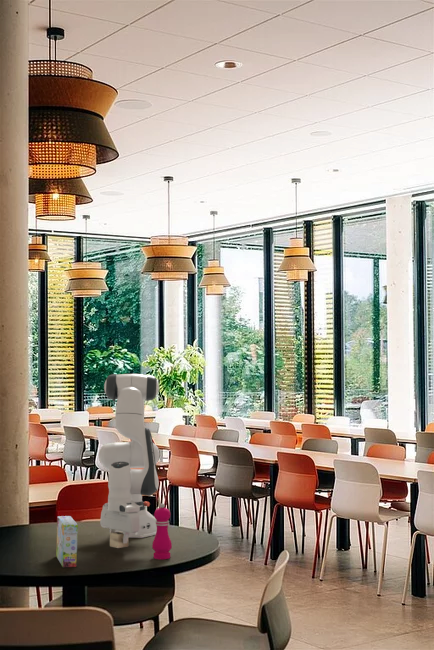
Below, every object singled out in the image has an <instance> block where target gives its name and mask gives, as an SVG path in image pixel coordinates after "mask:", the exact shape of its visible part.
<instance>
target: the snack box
mask: <svg viewBox="0 0 434 650" xmlns="http://www.w3.org/2000/svg"><path fill="white" fill-rule="evenodd" d="M78 531H79V524H78V523H77V522H76V521H75V520H74V519H73V517H72V516H71V515H65V516H64V515H61V516H60V515H59V516H57V519H56V550H55V551H56V553H55V554H56V555H55V556H56V558H57V560H58V561H59V563H60V565H61V567H62V568H76V567H77V561H78V560H77V559H78V557H77V555H78V536H79V533H78Z"/></svg>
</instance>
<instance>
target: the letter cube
mask: <svg viewBox="0 0 434 650" xmlns="http://www.w3.org/2000/svg"><path fill="white" fill-rule="evenodd" d="M123 536H124V534H123V532H113V533H110V532H109V547H111V548H117V549H120V548H121V549H122V548H126V547H129V539H128V540H127V543H125V544H124V543H122V542H121V541H122V540H121V538H123Z"/></svg>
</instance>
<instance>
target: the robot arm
mask: <svg viewBox="0 0 434 650" xmlns="http://www.w3.org/2000/svg"><path fill="white" fill-rule="evenodd" d="M103 387H104V388H103V389H104V393H105V395H106V397H107V398H108V399H110V400H112V401H113V402H115V401H117V402H116V405H115V417H114V420H115V421H114V422H115V429H116V431H117V432H118V433H119V434H120V435H121V436H123V437H125V438H127V439H129V440H131V441H129V442H128V441H126V442H125V441H122V442H121V441H120V442H117V441H116V442H109V443H105V444H103V445H102V446H101V447H100V449H99V450H98V451H99V452H98V460H99V462H100V464H101V466H102V467H104V468H105V469H106V470H107V471H108V479H107V482H108V483H107V484H108V485H107V487H108V496H107V502H106V503H104V504H103V505H102V510H101V512H100V526H101V528H104V529H109V530H108V532H109V534H110V533H113V532H123V534H124V536H123V538H121V540H122V541H121V542H122V543H124V544H125V543H127V540H128V541H129V538H139V539H140V538H146V537H148V538H149V537H151V536H156V532H157V525H156V521H157V520H156V519H155V517H154V514H151V513H150V512H149V511H148V510H146V508H147V507H149V506H150V502H149V501H144V500H143V496H149V497H150V496H152V495H154V494H155V493H156V491H158V489H159V485H160V483H159V481H160V480H159V477H158V472H157V470H158V469H157V464H158V462H159V460H160V456H161V455H160V453H161V452H160V449H159V447H158V446H157V444H155V442H153V435H152V432H151V430H150V428H148V427H147V426H146V425H145V401H146V402H149V401H152V400H154V399H156V397H157V395H158V394H159V388H160V387H159V382H158V380H157V377H156V376H154V375H150V374H147V375H146V374H142V373H123V374H121V373H119V374H117V373H114V374H113V373H112V374H110V375H108V376H107V377H106V379H105V382H104V385H103Z"/></svg>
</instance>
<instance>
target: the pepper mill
mask: <svg viewBox="0 0 434 650" xmlns="http://www.w3.org/2000/svg"><path fill="white" fill-rule="evenodd" d="M165 506H166V505H165V503H160V505H159V507H158V508H156V509H155V511H154V513H153V516H154V517H155V519H156V520H157V521H156V525H157V532H156V535H154V538H153V541H152V545H151V547H152V550H153V551H154V552H153V559H155V560H168V559H170V558H171V552H170V550H171V549H172V546H173V544H172V540H171V538H170V535H169V532H168V531H169V529H168V528H169V526H170V523H169V522H170V521H169V520H170V518H171V511H170V509H168V508H167V507H165Z"/></svg>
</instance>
